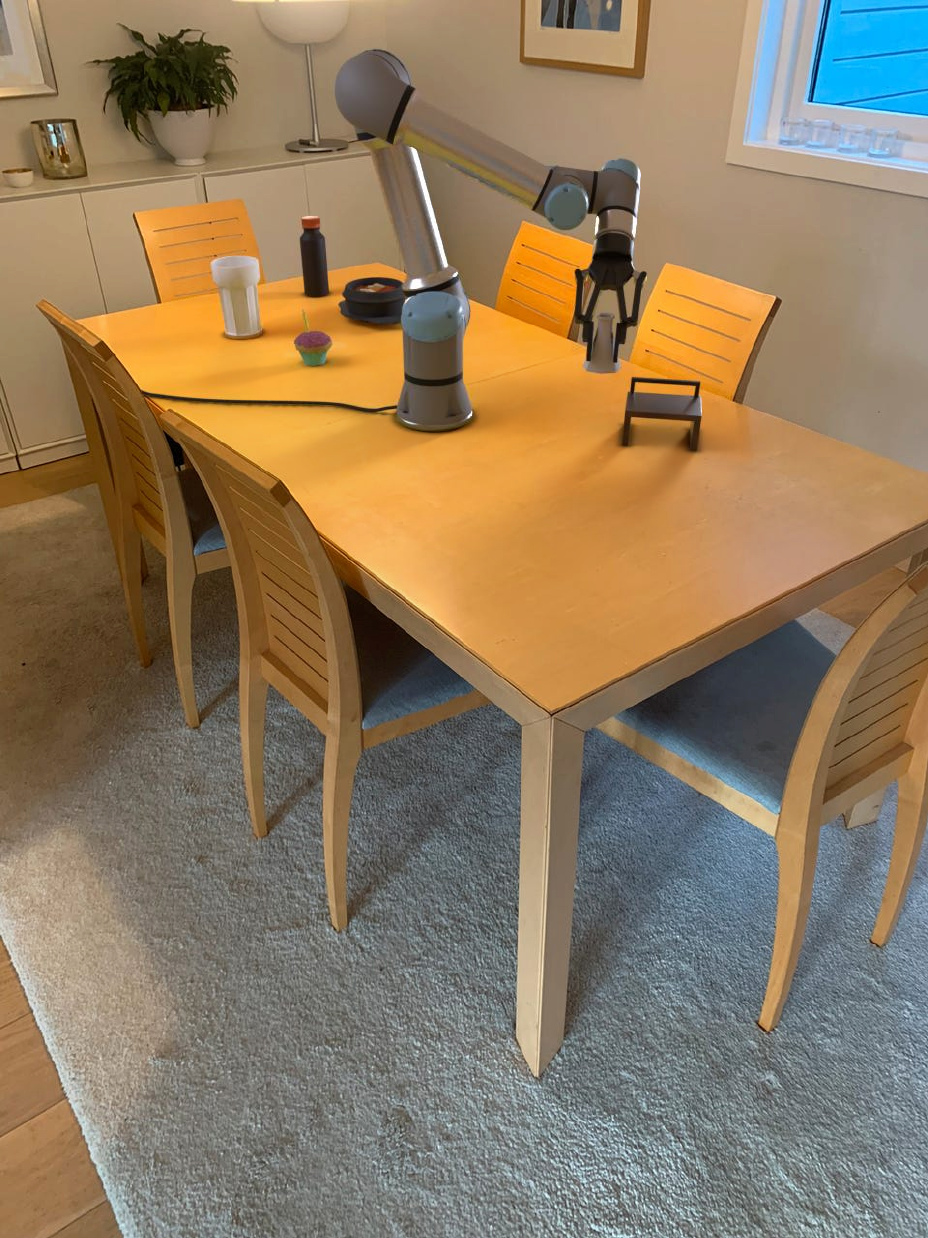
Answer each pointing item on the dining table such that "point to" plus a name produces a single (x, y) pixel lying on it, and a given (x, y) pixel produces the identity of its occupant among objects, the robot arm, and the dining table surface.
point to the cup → (238, 295)
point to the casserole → (373, 300)
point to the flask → (603, 347)
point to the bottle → (313, 258)
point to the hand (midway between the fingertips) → (601, 358)
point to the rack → (664, 407)
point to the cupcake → (312, 345)
